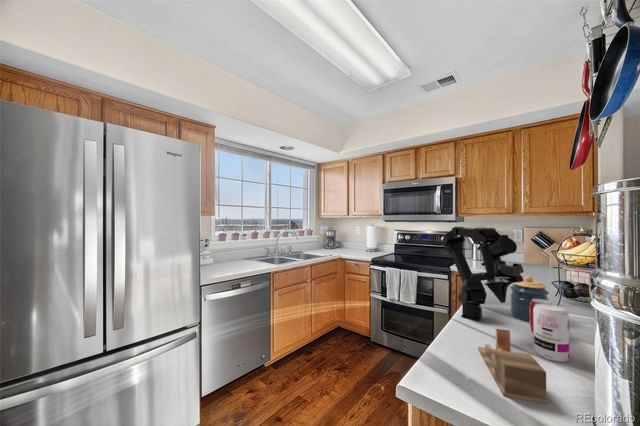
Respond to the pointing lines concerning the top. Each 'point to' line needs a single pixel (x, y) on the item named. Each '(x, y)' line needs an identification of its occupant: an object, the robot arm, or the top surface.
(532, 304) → the soda can
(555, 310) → the supplement can
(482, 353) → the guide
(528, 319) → the canister
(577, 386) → the top surface
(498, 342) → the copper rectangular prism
